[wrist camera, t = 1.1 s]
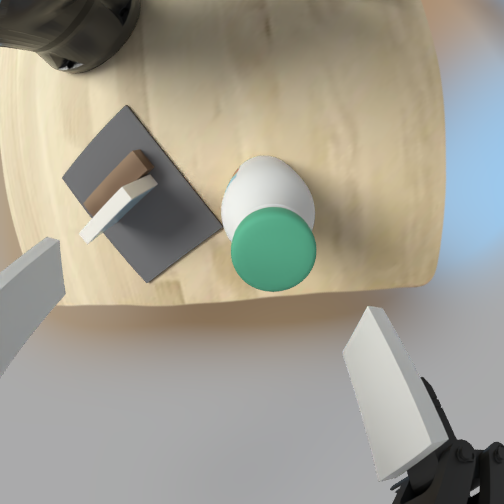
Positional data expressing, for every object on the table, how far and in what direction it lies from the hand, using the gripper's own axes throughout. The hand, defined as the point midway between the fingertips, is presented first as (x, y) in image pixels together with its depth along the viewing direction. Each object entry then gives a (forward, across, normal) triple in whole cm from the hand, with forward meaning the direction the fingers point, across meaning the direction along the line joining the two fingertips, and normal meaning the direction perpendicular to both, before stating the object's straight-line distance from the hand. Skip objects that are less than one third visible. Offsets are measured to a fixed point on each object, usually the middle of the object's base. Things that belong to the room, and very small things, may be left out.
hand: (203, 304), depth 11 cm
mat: (+24, -13, -5) cm, 28 cm away
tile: (+24, -13, -5) cm, 28 cm away
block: (+24, -15, -3) cm, 28 cm away
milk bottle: (+24, +3, 0) cm, 25 cm away
